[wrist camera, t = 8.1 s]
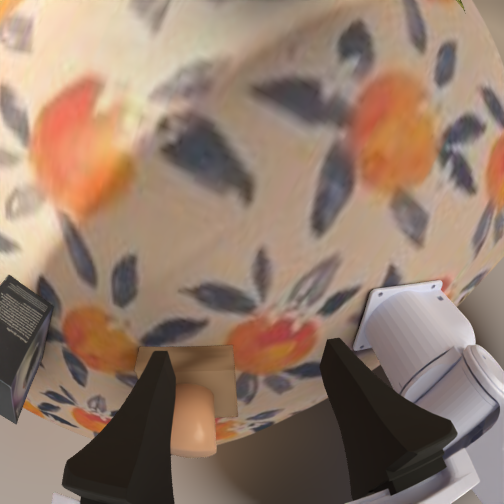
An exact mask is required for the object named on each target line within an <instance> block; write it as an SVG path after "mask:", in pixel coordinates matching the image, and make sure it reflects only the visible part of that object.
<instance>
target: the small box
mask: <svg viewBox="0 0 504 504" xmlns="http://www.w3.org/2000/svg"><path fill="white" fill-rule="evenodd" d="M52 311H53V305H51V304H50V303H48V302H47V301H45V300H44V299H43V298H41V297H40V296H38V295H37V294H35V293H34V292H32V291H31V290H29V289H28V288H27V287H25V286H24V285H22V284H21V283H20V282H18V281H17V280H16V279H14V278H13V277H12V276H10V275H8V276H7V277H6V279H5V280H4V281H3V282H2V284H1V285H0V415H2V416H3V417H5V418H7V419H8V420H10V421H11V422H13V423H15V424H17V421H18V418H19V415H20V413H21V410H22V407H23V405H24V402H25V399H26V397H27V394H28V391H29V389H30V386H31V384H32V381H33V379H34V377H35V374H36V372H37V370H38V367H39V365H40V363H41V360H42V358H43V353H44V348H45V343H46V338H47V333H48V328H49V324H50V320H51V315H52Z"/></svg>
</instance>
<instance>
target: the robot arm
mask: <svg viewBox="0 0 504 504" xmlns="http://www.w3.org/2000/svg"><path fill="white" fill-rule="evenodd" d="M441 287H442V282H441V281H440V280H436V281H430V282H423V283H416V284H409V285H401V286H394V287H386V288H378V289H373V290H372V291H371V292H370V295H369V298H368V302H367V305H366V308H365V312H364V315H363V318H362V321H361V324H360V327H359V330H358V333H357V336H356V339H355V342H354V345H353V349H354V350H355V351H358V350H363V349H368V348H372V349H373V351H374V353H375V355H376V356H377V358H378V360H379V362H380V364H381V366H382V368H383V369H384V371H385V373H386V375H387V377H388V379H389V381H390V382H391V385H392V387H393V389H394V390H393V389H392V388H390V387H389V386H388V385H387V384H385V383H384V382H383V381H382V380H381V379H379V378H378V377H377V376H376V375H375V374H374V373H373V372H372V371H371V370H370V369H369V368H368V367H367V366H366V365H365V364H364V363H363V362H362V361H361V360H360V359H359V358H358V357H357V356H356V355H355V354H354V353H353V352H352V351H351V350H350V349H349V347H348V346H347V345H346V344H345V343H344V342H343V341H342V340H341V339H340V338H334V339H327V342H326V346H325V350H324V353H323V357H322V360H321V364H320V370H321V375H322V379H323V383H324V387H325V389H326V392H327V395H328V397H329V400H330V402H331V405H332V408H333V410H334V413H335V415H336V418H337V421H338V424H339V427H340V430H341V434H342V439H343V443H344V447H345V452H346V457H347V463H348V469H349V475H350V485H351V495H352V499H353V501H352V502H348V503H345V504H451V503H452V502H454V501H455V500H457V499H458V498H459V497H461V496H462V495H463V494H465V493H466V492H467V491H469V490H470V489H472V490H473V491H474V493H475V494H476V496H477V497H478V498H479V499H480V501H481V502H482V504H504V371H503V370H502V368H501V367H500V366H499V364H498V363H497V362H496V361H495V359H494V358H493V357H492V356H491V355H490V354H489V353H488V352H487V351H486V350H485V349H484V348H482V347H481V346H479V345H475V335H474V331H473V328H472V326H471V324H470V322H469V321H468V320H467V319H466V317H464V315H463V314H462V313H461V312H460V311H459V309H458V308H457V307H456V306H455V305H454V304H453V303H452V302H451V301H450V300H449V298H448V297H447V296H446V295H445V294H444V293H443V292H442V291H441V290H440V289H441ZM379 293H380V294H379ZM175 399H176V376H175V373H174V370H173V367H172V364H171V360H170V357H169V354H168V351H154V352H153V353H152V355H151V357H150V359H149V361H148V363H147V365H146V367H145V369H144V371H143V373H142V374H141V376H140V378H139V380H138V381H137V383H136V385H135V387H134V388H133V390H132V391H131V393H130V394H129V396H128V398H127V399H126V401H125V402H124V404H123V405H122V406H121V408H120V409H119V411H118V412H117V413H116V414H115V416H114V417H113V418H112V419H111V421H110V422H109V423H108V424H107V425H106V426H105V428H104V429H103V430H102V431H101V432H100V433H99V434H98V435H97V436H96V437H95V438H94V439H93V440H92V441H91V442H90V443H89V444H87V445H86V446H85V447H84V448H83V449H82V450H80V451H79V452H78V453H77V454H75V455H74V456H73V457H71V458H70V459H69V460H67V462H66V465H65V469H64V474H63V480H62V485H63V487H64V488H66V489H68V490H70V491H71V492H73V493H75V494H77V495H79V496H81V500H80V501H79V500H76V499H73V498H70V497H67V496H64V495H62V494H59V493H56V492H53V498H52V504H174V497H173V487H172V475H171V446H170V445H171V432H172V423H173V415H174V407H175Z"/></svg>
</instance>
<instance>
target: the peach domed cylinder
mask: <svg viewBox="0 0 504 504" xmlns="http://www.w3.org/2000/svg"><path fill="white" fill-rule="evenodd" d="M170 446H171V454H173V455H176V456H180V457H186V458H204V457H209V456H212V455H214V454H215V453H216V451H217V450H216V430H215V406H214V394H213V393H212V392H211V391H210V390H209V389H207V388H205V387H203V386H200V385H195V384H179V385H176V399H175V407H174V415H173V423H172V432H171V445H170Z"/></svg>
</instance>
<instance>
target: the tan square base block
mask: <svg viewBox="0 0 504 504" xmlns="http://www.w3.org/2000/svg"><path fill="white" fill-rule="evenodd" d="M154 351H168V354H169V357H170V360H171V364H172V367H173V370H174V373H175V376H176V385H179V384H195V385H200V386H203V387H205V388H207V389H209V390H210V391H211V392H212V393H213V394H214V406H215V418H220V417H238V410H237V395H236V380H235V365H234V354H233V345H225V346H199V347H140V348H139V352H138V356H137V360H136V365H135V369H134V371H135V373H136V375H137V377H138V379H139V378H140V376H141V374H142V373H143V371H144V369H145V367H146V365H147V363H148V361H149V359H150V357H151V355H152V353H153V352H154Z"/></svg>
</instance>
